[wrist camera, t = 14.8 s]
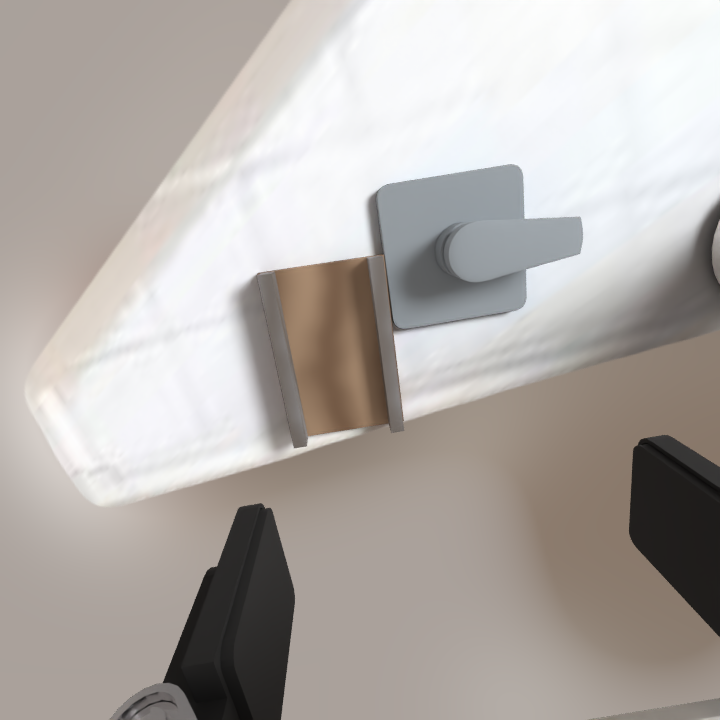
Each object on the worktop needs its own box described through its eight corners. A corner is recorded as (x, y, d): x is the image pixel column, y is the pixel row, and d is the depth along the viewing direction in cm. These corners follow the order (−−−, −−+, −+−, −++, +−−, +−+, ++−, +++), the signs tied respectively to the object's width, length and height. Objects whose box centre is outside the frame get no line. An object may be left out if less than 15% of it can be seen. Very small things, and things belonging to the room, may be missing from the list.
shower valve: (583, 313, 33) (402, 343, 33) (549, 302, 39) (393, 328, 38) (585, 146, 30) (381, 179, 29) (547, 159, 35) (374, 187, 35)
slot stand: (382, 254, 36) (386, 256, 33) (402, 416, 41) (407, 430, 38) (259, 272, 36) (253, 276, 33) (293, 433, 41) (290, 448, 38)
